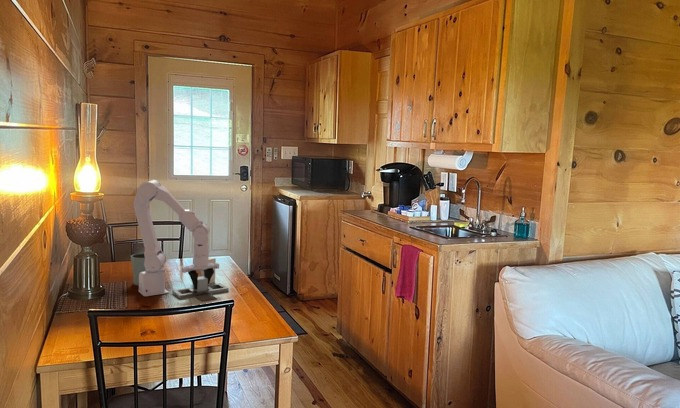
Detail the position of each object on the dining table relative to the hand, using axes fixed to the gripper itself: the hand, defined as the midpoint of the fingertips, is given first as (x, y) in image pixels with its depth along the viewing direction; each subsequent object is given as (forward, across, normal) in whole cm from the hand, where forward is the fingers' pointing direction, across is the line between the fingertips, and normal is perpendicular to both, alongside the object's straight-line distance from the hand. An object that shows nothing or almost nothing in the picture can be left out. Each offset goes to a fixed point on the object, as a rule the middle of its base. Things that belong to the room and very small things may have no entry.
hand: (200, 287), depth 200 cm
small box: (+2, +7, +14) cm, 16 cm away
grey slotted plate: (+2, 0, 0) cm, 2 cm away
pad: (+2, -1, -8) cm, 8 cm away
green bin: (+2, -15, +24) cm, 28 cm away
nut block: (+2, 0, 0) cm, 2 cm away
